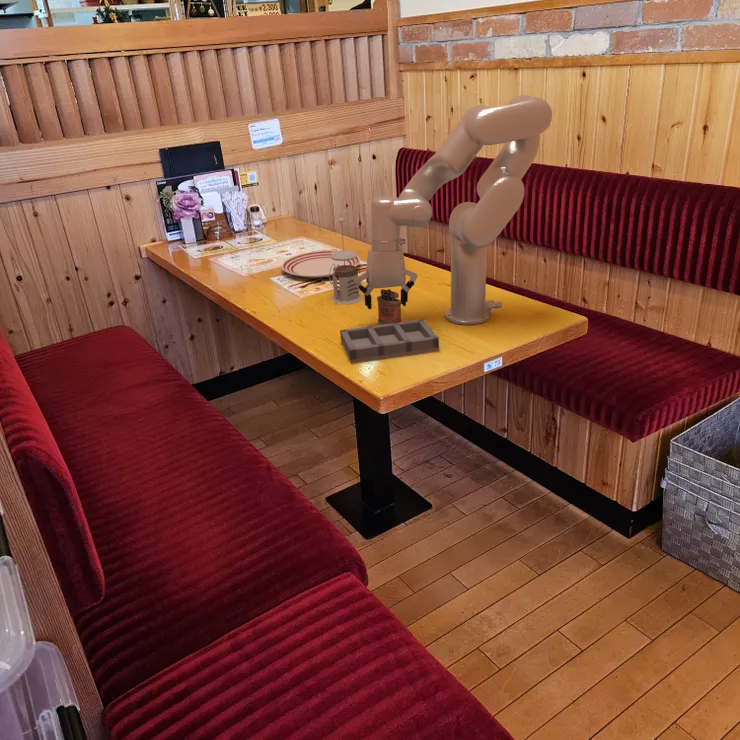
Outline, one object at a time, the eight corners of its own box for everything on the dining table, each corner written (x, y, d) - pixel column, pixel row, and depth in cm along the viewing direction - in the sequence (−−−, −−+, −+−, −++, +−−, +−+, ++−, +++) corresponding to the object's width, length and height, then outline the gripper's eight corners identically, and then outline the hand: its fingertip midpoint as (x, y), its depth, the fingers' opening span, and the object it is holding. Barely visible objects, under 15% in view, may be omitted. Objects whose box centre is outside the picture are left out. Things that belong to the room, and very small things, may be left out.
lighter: (375, 322, 187) (373, 288, 183) (383, 319, 189) (382, 285, 185) (396, 329, 182) (395, 295, 177) (404, 326, 184) (403, 291, 180)
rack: (423, 331, 180) (423, 319, 178) (438, 351, 168) (438, 338, 167) (341, 342, 176) (340, 330, 174) (351, 363, 164) (350, 350, 163)
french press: (369, 296, 207) (364, 215, 196) (346, 308, 198) (341, 224, 187) (343, 291, 212) (338, 212, 201) (320, 303, 204) (313, 221, 193)
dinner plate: (325, 288, 217) (325, 278, 215) (265, 275, 232) (264, 266, 231) (376, 265, 236) (376, 256, 235) (318, 255, 251) (317, 246, 250)
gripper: (413, 238, 181) (412, 298, 188) (350, 243, 177) (352, 304, 185) (421, 246, 174) (420, 308, 181) (356, 251, 171) (358, 314, 178)
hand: (386, 306), depth 183 cm, fingers open, 9 cm apart
